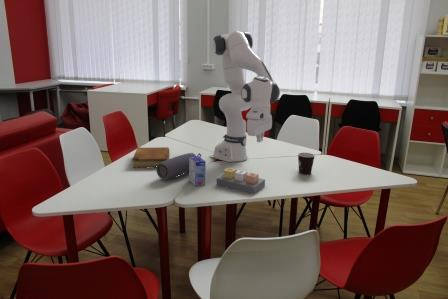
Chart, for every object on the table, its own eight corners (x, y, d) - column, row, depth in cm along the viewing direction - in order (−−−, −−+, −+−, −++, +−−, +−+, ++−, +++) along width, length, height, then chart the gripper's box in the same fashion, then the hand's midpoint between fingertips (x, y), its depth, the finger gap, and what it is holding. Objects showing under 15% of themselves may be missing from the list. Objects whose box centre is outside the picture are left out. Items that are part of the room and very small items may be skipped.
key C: (245, 183, 180) (246, 174, 179) (249, 181, 184) (250, 172, 182) (254, 185, 178) (254, 176, 176) (258, 183, 181) (258, 173, 180)
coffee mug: (313, 176, 200) (314, 157, 198) (296, 174, 202) (297, 156, 199) (312, 169, 211) (314, 151, 208) (297, 167, 213) (298, 150, 210)
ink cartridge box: (205, 185, 184) (206, 156, 180) (194, 186, 182) (195, 157, 178) (199, 178, 193) (199, 151, 189) (188, 179, 191) (188, 152, 187)
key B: (234, 181, 183) (234, 172, 182) (239, 178, 186) (239, 169, 185) (242, 183, 181) (243, 173, 179) (247, 180, 184) (247, 171, 183)
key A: (223, 178, 186) (224, 169, 184) (228, 176, 189) (228, 167, 188) (231, 180, 184) (231, 171, 182) (236, 178, 187) (236, 169, 186)
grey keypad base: (216, 185, 184) (216, 178, 183) (228, 178, 194) (229, 171, 193) (253, 194, 174) (254, 187, 173) (264, 186, 184) (265, 179, 183)
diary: (167, 169, 208) (167, 158, 206) (133, 169, 206) (132, 159, 204) (169, 156, 230) (169, 147, 228) (137, 156, 228) (137, 147, 226)
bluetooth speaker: (185, 168, 208) (185, 150, 205) (198, 171, 203) (199, 153, 200) (155, 179, 190) (155, 160, 188) (169, 183, 185) (169, 164, 182)
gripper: (263, 109, 187) (262, 136, 190) (244, 115, 170) (244, 145, 173) (275, 110, 184) (274, 138, 187) (257, 116, 166) (256, 147, 170)
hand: (259, 141), depth 180 cm, fingers closed
